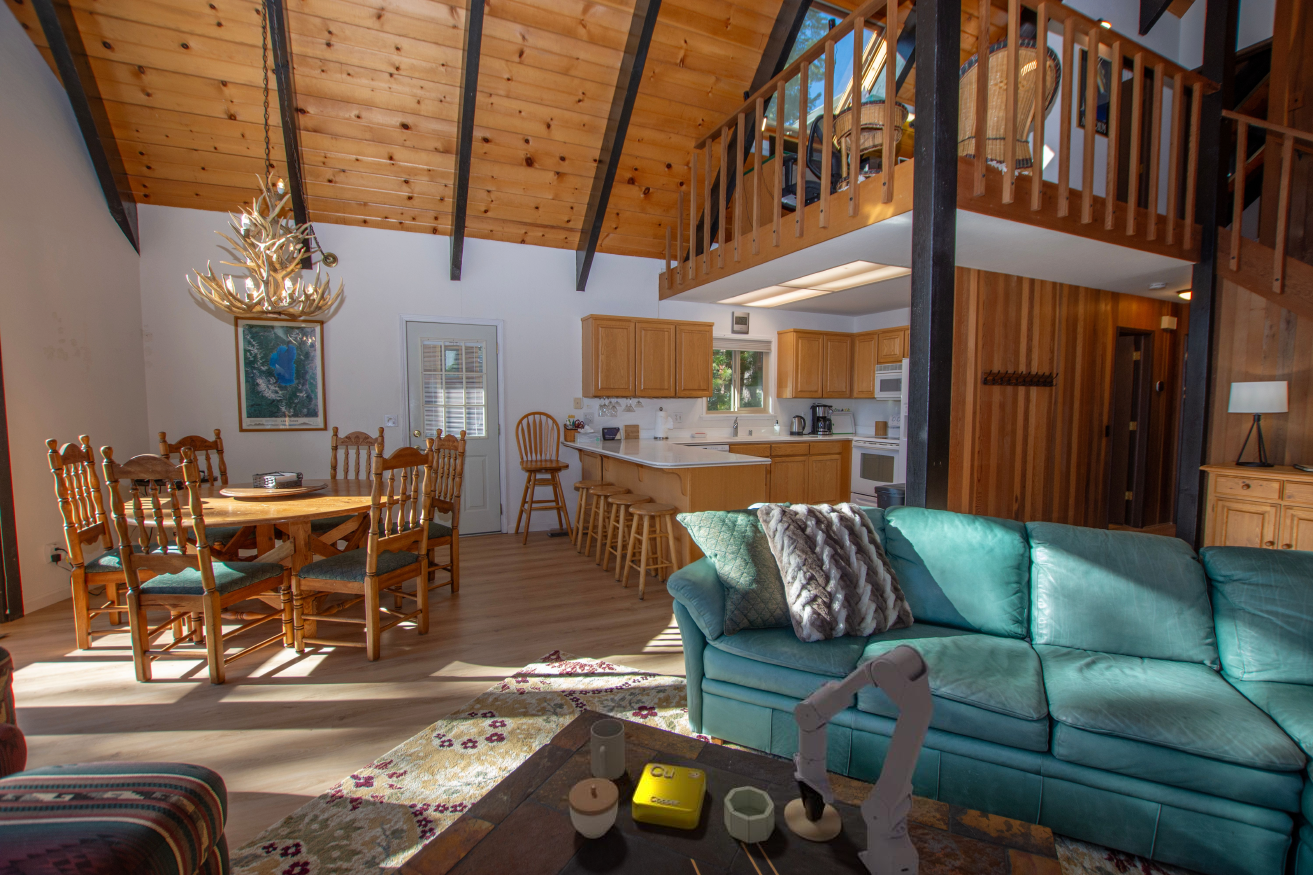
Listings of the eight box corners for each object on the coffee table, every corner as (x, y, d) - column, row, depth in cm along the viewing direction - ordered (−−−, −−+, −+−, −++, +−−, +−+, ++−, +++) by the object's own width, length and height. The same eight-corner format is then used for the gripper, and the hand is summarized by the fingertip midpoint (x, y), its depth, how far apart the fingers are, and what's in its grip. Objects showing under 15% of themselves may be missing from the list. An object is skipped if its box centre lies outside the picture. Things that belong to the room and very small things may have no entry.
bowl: (780, 837, 119) (780, 814, 119) (735, 845, 117) (735, 822, 116) (761, 804, 129) (761, 783, 128) (719, 812, 126) (719, 790, 126)
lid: (852, 835, 119) (852, 815, 119) (800, 845, 117) (800, 825, 116) (823, 797, 131) (823, 779, 131) (775, 805, 128) (775, 787, 128)
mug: (595, 758, 146) (594, 717, 146) (627, 760, 145) (627, 719, 145) (584, 789, 135) (583, 745, 134) (619, 791, 134) (618, 747, 133)
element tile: (629, 821, 125) (629, 800, 124) (646, 777, 139) (646, 759, 139) (696, 832, 121) (696, 810, 121) (706, 786, 136) (706, 767, 135)
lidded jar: (611, 850, 116) (610, 806, 116) (562, 842, 118) (561, 799, 118) (624, 813, 127) (623, 773, 126) (579, 807, 129) (578, 767, 128)
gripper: (781, 736, 129) (781, 793, 130) (811, 776, 115) (811, 840, 116) (809, 732, 131) (809, 788, 131) (843, 771, 117) (842, 834, 117)
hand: (812, 812), depth 124 cm, fingers closed on lid, 3 cm apart
